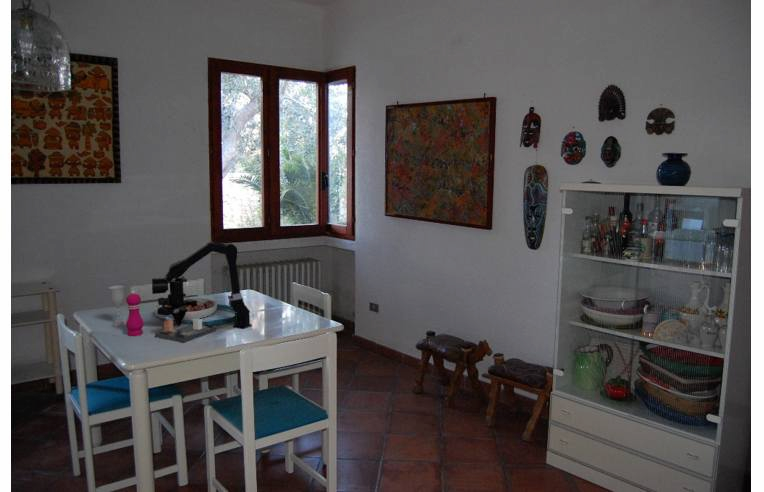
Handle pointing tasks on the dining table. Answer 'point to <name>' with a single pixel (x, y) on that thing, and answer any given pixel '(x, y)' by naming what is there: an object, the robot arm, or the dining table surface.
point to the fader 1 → (168, 325)
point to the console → (185, 332)
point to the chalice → (117, 301)
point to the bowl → (194, 309)
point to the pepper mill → (134, 315)
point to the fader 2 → (197, 323)
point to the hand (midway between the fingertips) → (178, 325)
